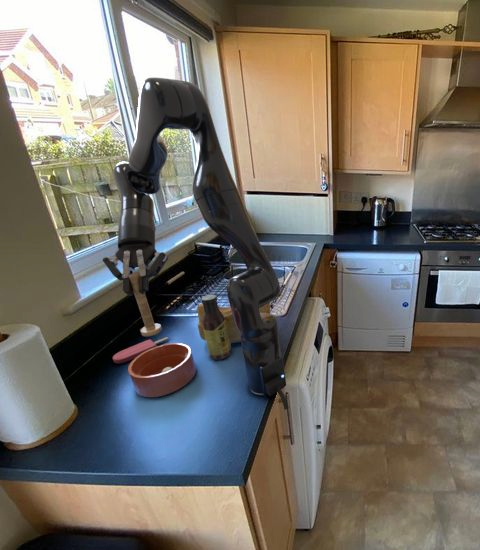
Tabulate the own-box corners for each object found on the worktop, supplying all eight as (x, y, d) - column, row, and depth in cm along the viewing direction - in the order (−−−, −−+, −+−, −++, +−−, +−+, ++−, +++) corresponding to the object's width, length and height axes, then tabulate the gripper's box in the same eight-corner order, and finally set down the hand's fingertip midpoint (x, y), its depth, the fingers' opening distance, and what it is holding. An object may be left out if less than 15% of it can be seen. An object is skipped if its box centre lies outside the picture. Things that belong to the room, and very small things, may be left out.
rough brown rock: (282, 321, 114) (277, 284, 109) (272, 345, 98) (265, 302, 93) (219, 325, 113) (211, 287, 108) (198, 349, 97) (188, 307, 92)
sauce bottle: (229, 359, 93) (216, 302, 85) (207, 362, 92) (192, 303, 84) (234, 346, 98) (223, 292, 91) (213, 348, 98) (200, 293, 90)
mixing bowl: (204, 378, 85) (199, 358, 83) (144, 408, 75) (136, 386, 73) (185, 355, 94) (180, 337, 91) (129, 380, 84) (122, 359, 82)
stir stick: (164, 331, 79) (147, 274, 73) (145, 338, 76) (125, 279, 69) (158, 325, 81) (141, 269, 75) (139, 332, 78) (119, 275, 72)
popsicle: (170, 338, 100) (115, 362, 89) (172, 342, 100) (117, 366, 90) (164, 332, 103) (109, 355, 92) (165, 336, 103) (111, 359, 93)
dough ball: (156, 374, 83) (164, 380, 84) (163, 374, 82) (171, 380, 83) (164, 365, 85) (172, 371, 87) (171, 364, 84) (179, 371, 86)
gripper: (96, 224, 72) (91, 292, 67) (162, 220, 77) (163, 284, 71) (112, 240, 79) (109, 303, 73) (172, 235, 83) (174, 294, 78)
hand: (135, 293), depth 72 cm, fingers closed on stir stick, 2 cm apart
